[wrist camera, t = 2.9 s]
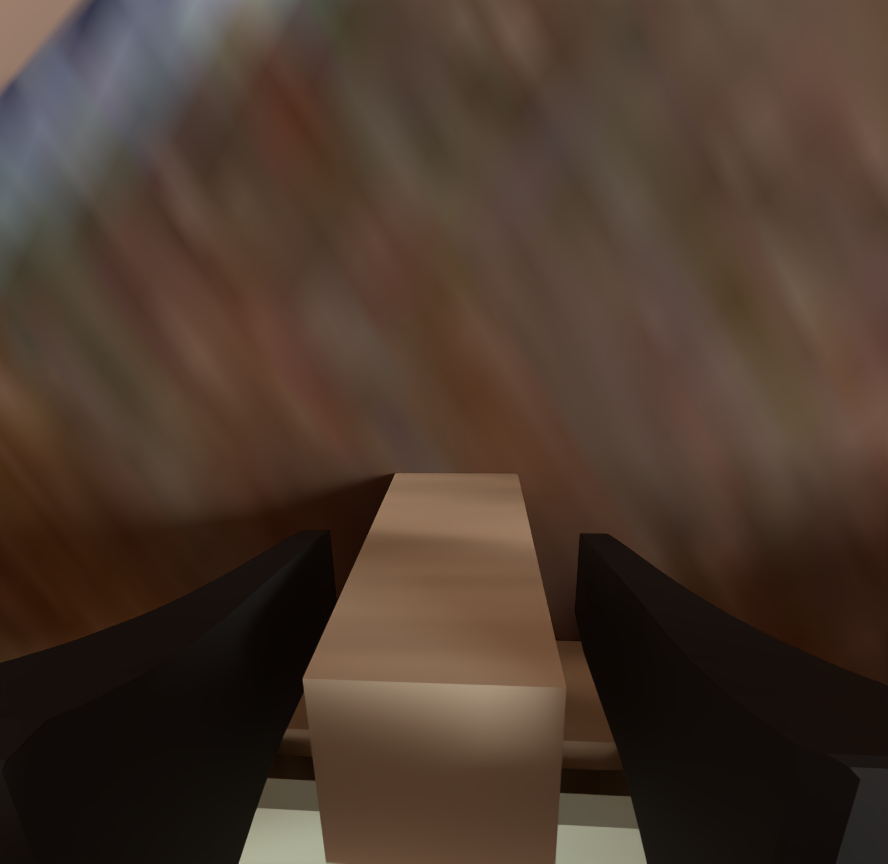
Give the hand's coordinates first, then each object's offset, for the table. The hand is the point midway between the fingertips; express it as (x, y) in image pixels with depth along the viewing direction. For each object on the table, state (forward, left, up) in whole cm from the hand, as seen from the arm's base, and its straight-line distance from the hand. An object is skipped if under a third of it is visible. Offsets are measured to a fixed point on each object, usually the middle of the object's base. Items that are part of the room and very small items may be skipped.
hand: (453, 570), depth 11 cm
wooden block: (0, 0, -2) cm, 2 cm away
